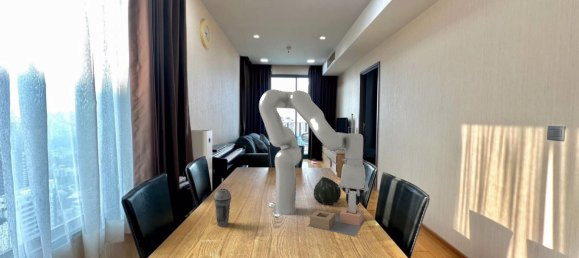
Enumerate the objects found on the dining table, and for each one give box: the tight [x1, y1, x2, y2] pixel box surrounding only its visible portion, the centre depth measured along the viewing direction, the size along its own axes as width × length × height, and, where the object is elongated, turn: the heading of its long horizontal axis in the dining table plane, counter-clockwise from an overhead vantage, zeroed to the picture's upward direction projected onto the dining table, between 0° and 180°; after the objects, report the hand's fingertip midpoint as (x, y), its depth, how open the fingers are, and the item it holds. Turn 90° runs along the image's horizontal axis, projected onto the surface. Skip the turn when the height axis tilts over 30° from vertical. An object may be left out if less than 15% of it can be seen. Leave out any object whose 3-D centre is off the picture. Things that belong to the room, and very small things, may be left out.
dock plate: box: [307, 206, 366, 237], centre depth 117 cm, size 20×20×6 cm
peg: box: [347, 190, 358, 214], centre depth 118 cm, size 3×3×10 cm
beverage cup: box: [213, 177, 232, 228], centre depth 116 cm, size 7×7×20 cm
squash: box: [313, 176, 342, 206], centre depth 147 cm, size 14×15×15 cm
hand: (352, 202), depth 118 cm, fingers closed on peg, 3 cm apart
